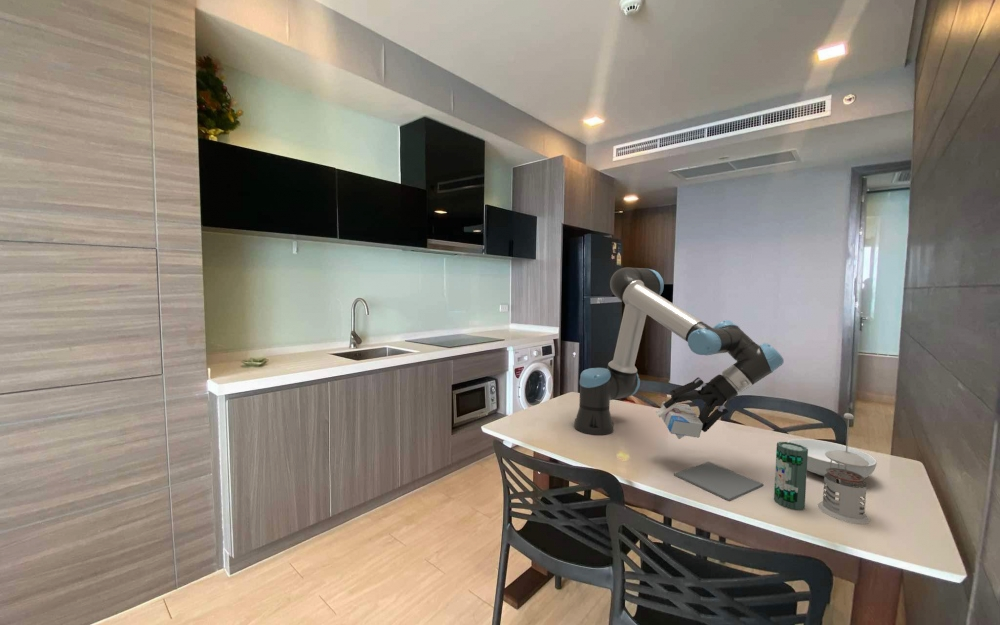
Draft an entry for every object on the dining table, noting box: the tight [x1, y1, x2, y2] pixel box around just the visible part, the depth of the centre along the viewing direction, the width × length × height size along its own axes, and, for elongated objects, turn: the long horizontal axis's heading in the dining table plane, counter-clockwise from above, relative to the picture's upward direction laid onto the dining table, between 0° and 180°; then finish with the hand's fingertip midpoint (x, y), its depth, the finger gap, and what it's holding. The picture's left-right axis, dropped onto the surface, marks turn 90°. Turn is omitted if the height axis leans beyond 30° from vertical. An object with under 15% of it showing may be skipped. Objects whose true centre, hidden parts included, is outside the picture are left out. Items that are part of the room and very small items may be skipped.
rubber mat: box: [674, 461, 764, 502], centre depth 110 cm, size 16×17×1 cm
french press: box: [817, 412, 871, 525], centre depth 95 cm, size 10×12×25 cm
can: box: [773, 441, 808, 511], centre depth 99 cm, size 6×6×15 cm
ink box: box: [660, 401, 703, 438], centre depth 119 cm, size 9×5×12 cm
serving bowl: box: [786, 438, 878, 480], centre depth 117 cm, size 21×21×7 cm
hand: (667, 425), depth 121 cm, fingers closed on ink box, 9 cm apart
